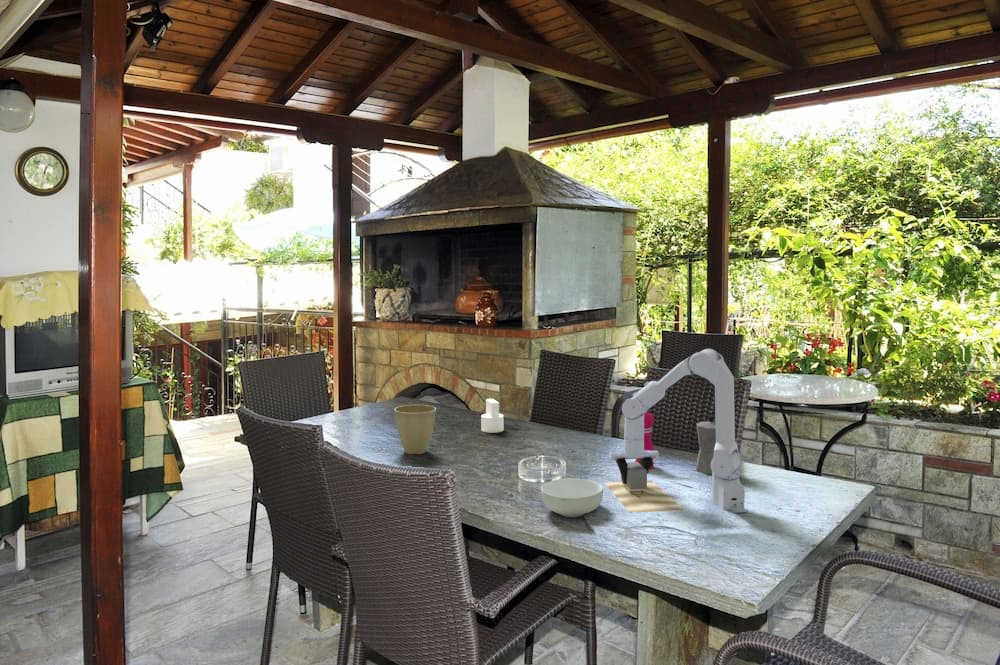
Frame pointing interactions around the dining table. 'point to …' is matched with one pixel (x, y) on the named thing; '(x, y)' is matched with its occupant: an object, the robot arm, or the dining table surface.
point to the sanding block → (636, 477)
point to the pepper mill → (647, 434)
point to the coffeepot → (706, 445)
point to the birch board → (643, 498)
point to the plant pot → (415, 426)
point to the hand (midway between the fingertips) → (633, 482)
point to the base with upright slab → (492, 418)
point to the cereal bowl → (572, 496)
